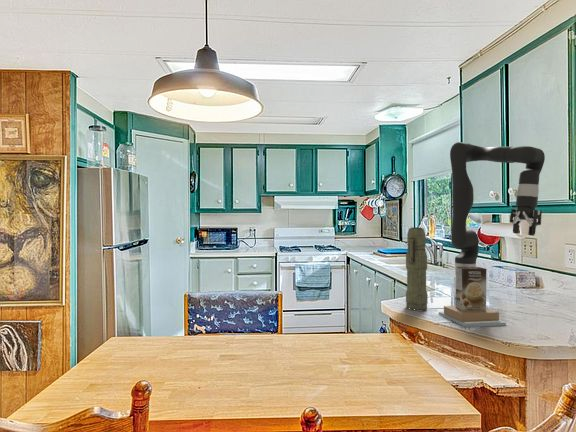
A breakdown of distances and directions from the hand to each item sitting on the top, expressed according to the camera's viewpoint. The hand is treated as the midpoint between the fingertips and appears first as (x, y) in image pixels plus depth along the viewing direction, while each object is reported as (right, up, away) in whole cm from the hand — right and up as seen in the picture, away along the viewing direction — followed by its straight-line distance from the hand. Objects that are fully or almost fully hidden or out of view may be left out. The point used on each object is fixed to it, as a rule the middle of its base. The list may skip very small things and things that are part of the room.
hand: (523, 234), depth 156 cm
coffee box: (-28, -29, -11) cm, 41 cm away
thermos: (-42, -33, +7) cm, 54 cm away
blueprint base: (-28, -32, -11) cm, 44 cm away
